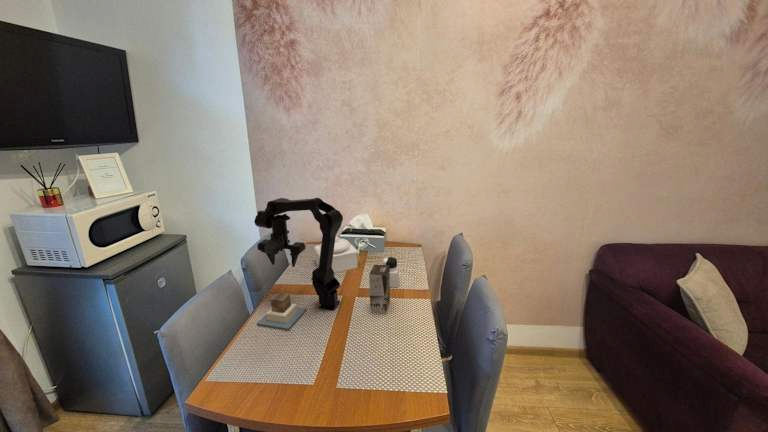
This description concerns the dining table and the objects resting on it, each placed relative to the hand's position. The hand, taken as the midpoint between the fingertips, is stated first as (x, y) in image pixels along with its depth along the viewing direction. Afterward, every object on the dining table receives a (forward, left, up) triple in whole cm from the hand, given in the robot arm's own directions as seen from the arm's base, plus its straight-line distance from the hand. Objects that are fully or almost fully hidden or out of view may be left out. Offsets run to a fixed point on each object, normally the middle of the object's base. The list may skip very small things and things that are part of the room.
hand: (283, 265), depth 135 cm
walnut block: (-8, +16, -9) cm, 20 cm away
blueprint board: (-8, +16, -13) cm, 22 cm away
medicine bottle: (-40, -19, -14) cm, 47 cm away
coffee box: (-41, 0, -14) cm, 44 cm away
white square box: (-9, -32, -14) cm, 36 cm away
